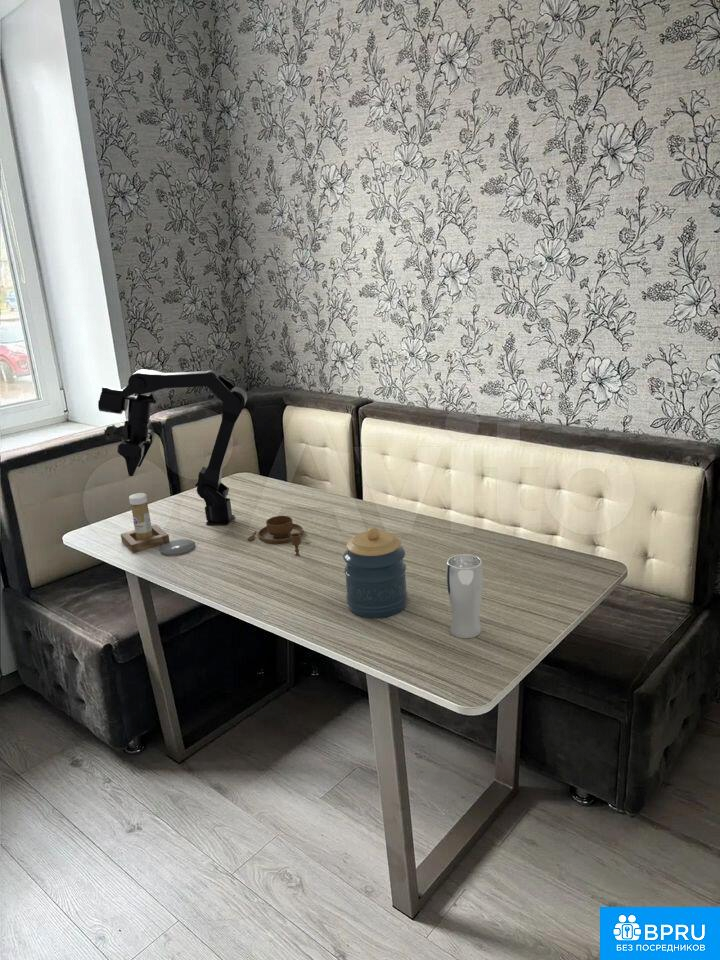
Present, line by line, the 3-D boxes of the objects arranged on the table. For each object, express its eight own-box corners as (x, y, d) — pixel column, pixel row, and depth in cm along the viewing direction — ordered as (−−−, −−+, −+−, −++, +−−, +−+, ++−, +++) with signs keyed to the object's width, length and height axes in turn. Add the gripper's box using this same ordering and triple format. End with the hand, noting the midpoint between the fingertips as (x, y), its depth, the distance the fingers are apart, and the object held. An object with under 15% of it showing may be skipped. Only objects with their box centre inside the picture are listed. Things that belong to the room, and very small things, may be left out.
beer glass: (480, 620, 148) (479, 552, 143) (486, 638, 141) (486, 567, 136) (445, 623, 148) (443, 554, 143) (450, 641, 141) (448, 570, 136)
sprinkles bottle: (133, 544, 198) (125, 497, 193) (143, 537, 202) (135, 491, 197) (147, 545, 196) (139, 498, 192) (157, 539, 200) (149, 492, 196)
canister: (372, 585, 166) (367, 512, 160) (419, 599, 158) (416, 523, 152) (334, 608, 156) (328, 532, 151) (382, 625, 148) (377, 545, 143)
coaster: (200, 541, 197) (200, 539, 196) (187, 555, 188) (187, 553, 188) (168, 541, 198) (168, 539, 198) (154, 555, 190) (154, 553, 190)
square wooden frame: (157, 531, 205) (156, 524, 205) (169, 542, 197) (168, 534, 197) (121, 541, 200) (120, 533, 200) (133, 552, 192) (131, 545, 192)
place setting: (317, 527, 202) (315, 507, 200) (304, 558, 183) (302, 537, 181) (255, 529, 204) (253, 509, 202) (236, 559, 185) (233, 538, 183)
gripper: (116, 405, 207) (113, 458, 212) (99, 419, 189) (95, 477, 194) (156, 411, 209) (152, 463, 213) (143, 426, 191) (138, 482, 195)
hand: (134, 471), depth 204 cm, fingers open, 9 cm apart
